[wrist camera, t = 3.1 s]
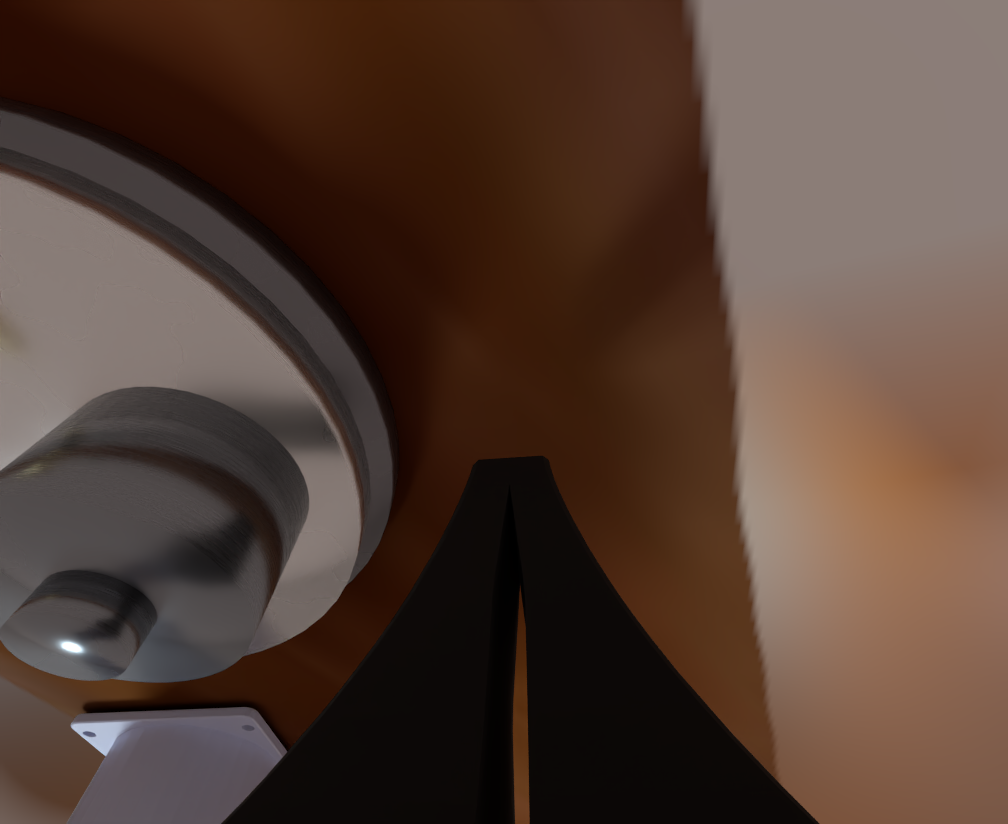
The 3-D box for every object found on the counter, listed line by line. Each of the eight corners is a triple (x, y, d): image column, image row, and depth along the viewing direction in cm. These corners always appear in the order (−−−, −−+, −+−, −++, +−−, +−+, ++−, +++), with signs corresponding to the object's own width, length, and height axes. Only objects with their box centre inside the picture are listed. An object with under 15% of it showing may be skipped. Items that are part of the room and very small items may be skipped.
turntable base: (439, 593, 17) (436, 620, 16) (19, 615, 18) (-5, 642, 17) (300, 46, 9) (279, 43, 8) (-487, 133, 9) (-585, 138, 8)
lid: (335, 554, 12) (276, 721, 9) (139, 564, 12) (16, 730, 9) (263, 376, 9) (141, 529, 6) (11, 395, 10) (-227, 551, 7)
